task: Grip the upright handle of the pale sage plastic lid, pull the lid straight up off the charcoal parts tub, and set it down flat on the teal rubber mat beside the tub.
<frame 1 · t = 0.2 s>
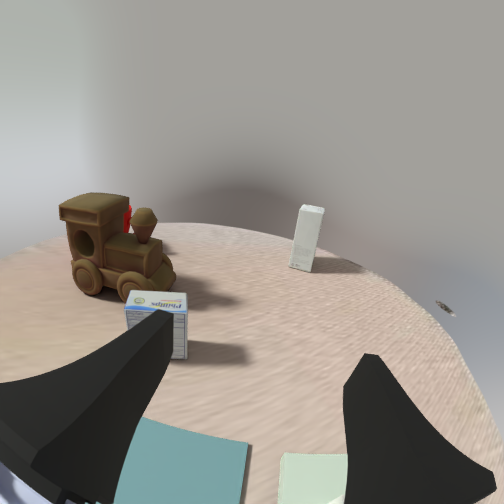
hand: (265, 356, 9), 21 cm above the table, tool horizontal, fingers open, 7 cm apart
mat: (155, 487, 17), on the table
medicine box: (160, 349, 36), on the table
skincare box: (300, 264, 70), on the table
wooden toy train: (121, 289, 47), on the table
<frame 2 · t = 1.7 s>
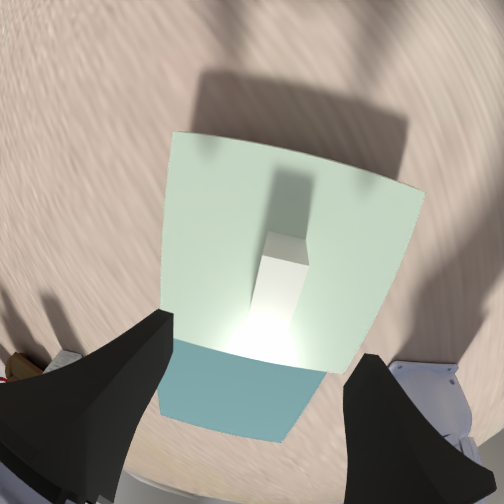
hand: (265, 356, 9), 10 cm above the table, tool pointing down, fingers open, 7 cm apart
mat: (228, 398, 26), on the table
lid: (276, 270, 16), point 3 cm above the table, touching tub
medicine box: (84, 370, 30), on the table
wooden toy train: (53, 386, 36), on the table
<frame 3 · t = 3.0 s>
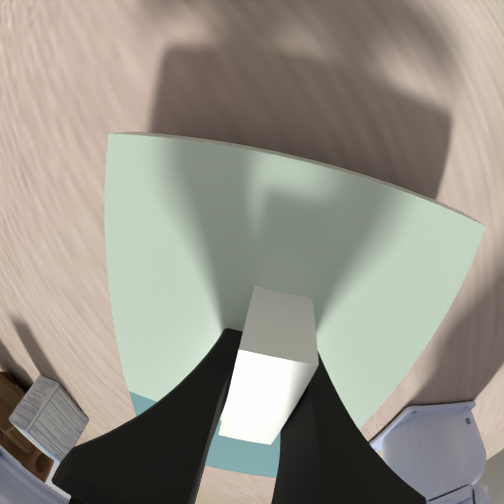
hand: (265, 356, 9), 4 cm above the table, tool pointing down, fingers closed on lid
mat: (217, 439, 21), on the table
lid: (268, 332, 11), point 3 cm above the table, touching gripper, tub
medicine box: (65, 397, 25), on the table
wooden toy train: (39, 405, 31), on the table
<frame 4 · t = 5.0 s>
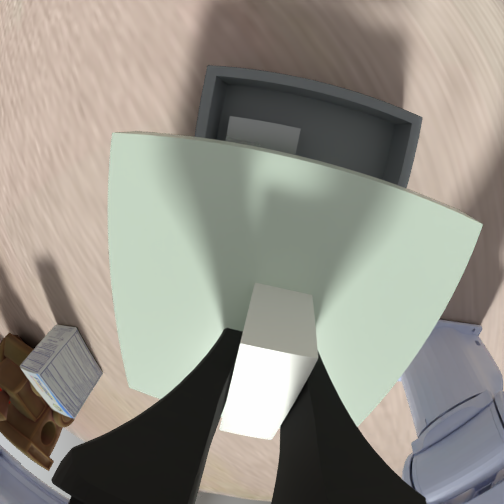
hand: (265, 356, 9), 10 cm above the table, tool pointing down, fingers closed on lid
lid: (269, 328, 11), point 9 cm above the table, touching gripper
steel block: (263, 142, 16), resting on tub
medicine box: (80, 347, 28), on the table
tub: (296, 180, 17), on the table
wooden toy train: (49, 372, 34), on the table
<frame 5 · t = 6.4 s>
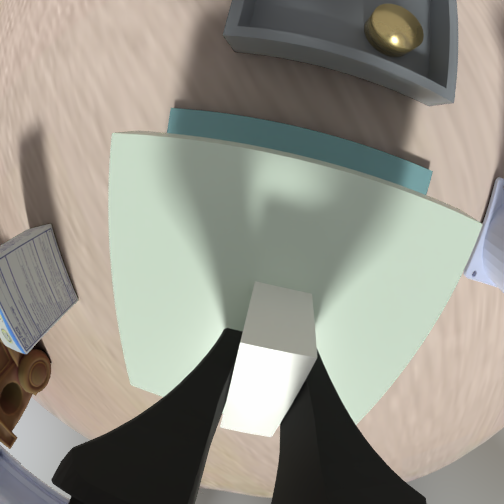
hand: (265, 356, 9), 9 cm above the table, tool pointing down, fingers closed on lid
mat: (278, 256, 17), on the table
lid: (269, 326, 11), point 7 cm above the table, touching gripper
medicine box: (54, 262, 21), on the table
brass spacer: (387, 35, 10), resting on tub
wooden toy train: (20, 321, 27), on the table
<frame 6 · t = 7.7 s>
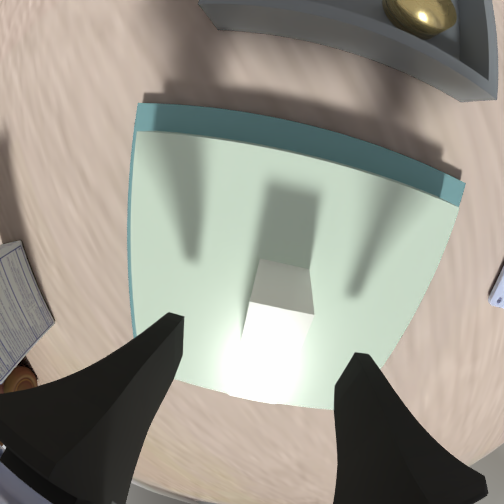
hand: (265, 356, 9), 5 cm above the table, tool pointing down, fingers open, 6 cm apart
mat: (274, 287, 14), on the table
lid: (272, 303, 12), point 1 cm above the table, touching mat
medicine box: (28, 281, 17), on the table
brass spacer: (411, 14, 7), resting on tub
wooden toy train: (5, 336, 23), on the table
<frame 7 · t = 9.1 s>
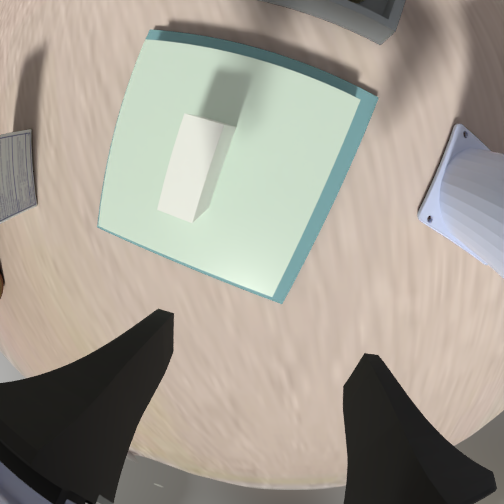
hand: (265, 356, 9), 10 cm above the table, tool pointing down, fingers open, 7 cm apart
mat: (215, 160, 17), on the table
lid: (209, 161, 16), point 1 cm above the table, touching mat
medicine box: (25, 168, 19), on the table
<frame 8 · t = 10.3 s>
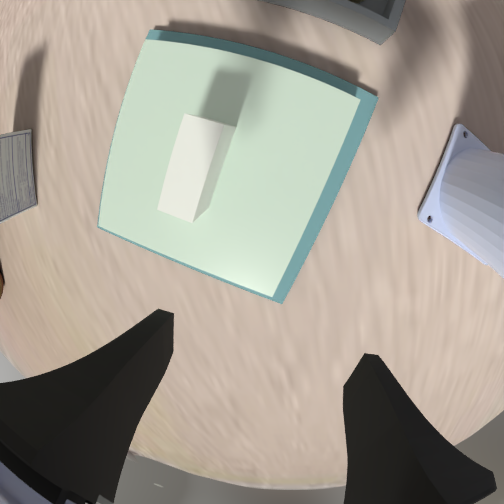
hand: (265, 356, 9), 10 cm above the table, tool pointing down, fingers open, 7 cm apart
mat: (215, 160, 17), on the table
lid: (209, 161, 16), point 1 cm above the table, touching mat
medicine box: (25, 168, 19), on the table
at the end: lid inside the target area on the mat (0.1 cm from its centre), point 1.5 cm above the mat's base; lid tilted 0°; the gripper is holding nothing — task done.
